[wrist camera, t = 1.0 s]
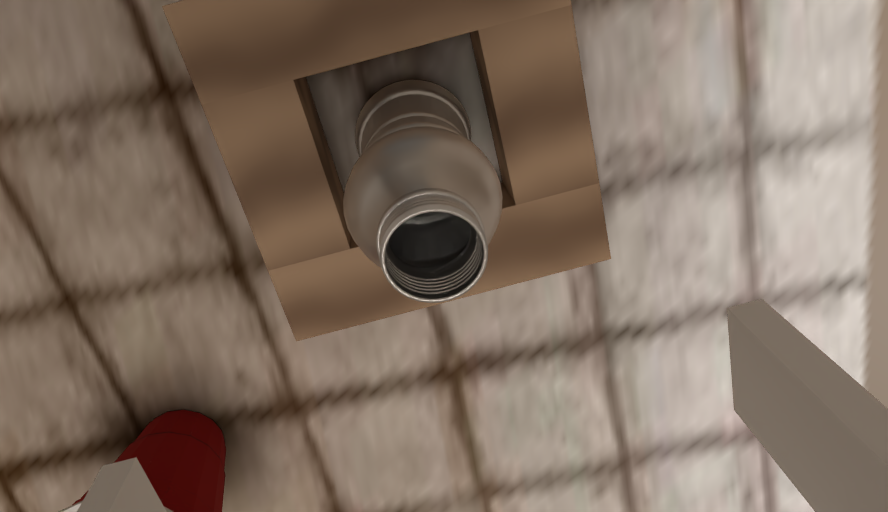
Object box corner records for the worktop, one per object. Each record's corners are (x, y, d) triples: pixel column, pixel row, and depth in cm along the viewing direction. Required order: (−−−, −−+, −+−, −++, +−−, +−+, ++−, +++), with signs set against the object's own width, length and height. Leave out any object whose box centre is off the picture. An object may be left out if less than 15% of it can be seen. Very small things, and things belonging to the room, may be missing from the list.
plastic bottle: (469, 171, 42) (537, 327, 24) (363, 182, 42) (349, 350, 24) (461, 67, 39) (530, 153, 21) (348, 79, 39) (319, 176, 21)
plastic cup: (96, 375, 46) (7, 504, 35) (257, 381, 47) (219, 507, 36) (111, 496, 50) (35, 646, 39) (258, 499, 51) (224, 644, 40)
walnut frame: (186, 1, 37) (161, 6, 33) (535, -94, 36) (554, -102, 32) (304, 307, 45) (296, 341, 41) (589, 231, 45) (611, 258, 40)
